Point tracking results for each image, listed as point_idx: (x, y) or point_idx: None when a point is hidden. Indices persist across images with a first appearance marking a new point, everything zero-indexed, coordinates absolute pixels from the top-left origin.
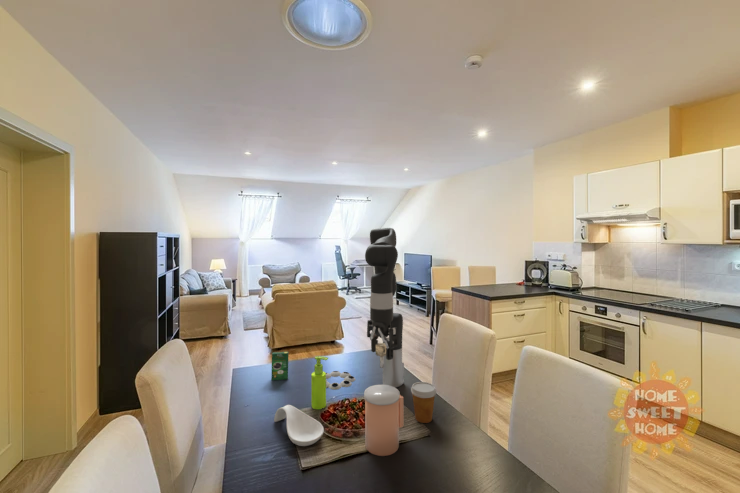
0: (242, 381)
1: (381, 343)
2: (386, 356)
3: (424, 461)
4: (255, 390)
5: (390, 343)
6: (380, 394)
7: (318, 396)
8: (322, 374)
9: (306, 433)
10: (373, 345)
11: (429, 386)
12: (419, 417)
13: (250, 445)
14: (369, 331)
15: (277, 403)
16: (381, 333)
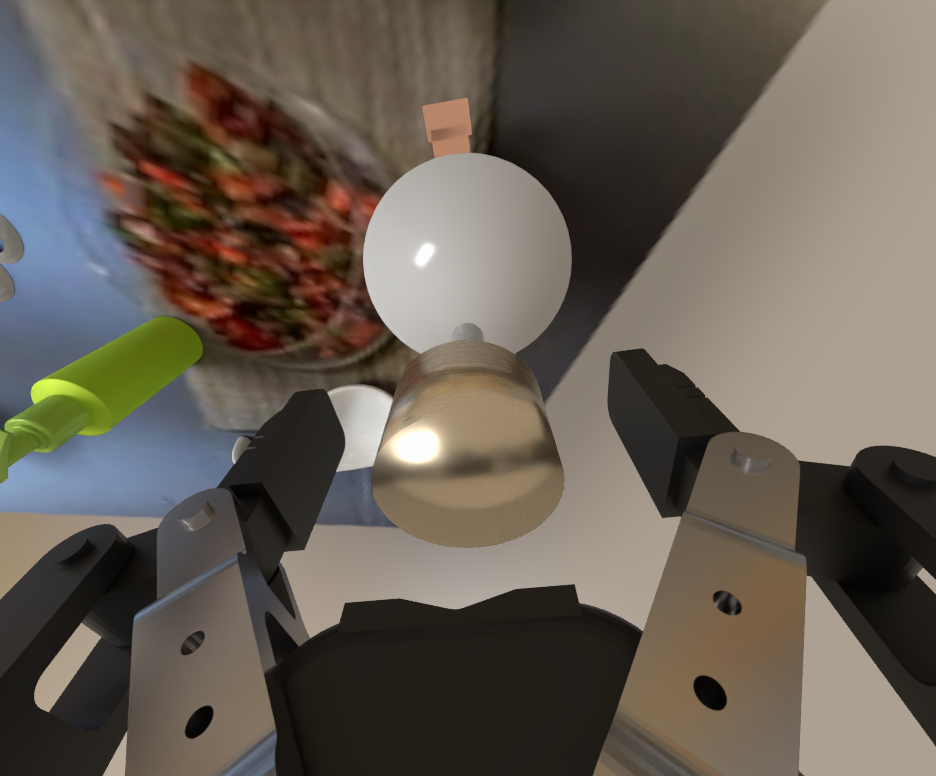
0: (5, 504)
1: (398, 468)
2: (624, 434)
3: (617, 117)
4: (68, 481)
5: (875, 615)
6: (483, 291)
7: (173, 370)
8: (84, 399)
9: (345, 410)
10: (318, 489)
11: None
12: None
13: (350, 502)
14: (123, 720)
15: (156, 442)
16: None
